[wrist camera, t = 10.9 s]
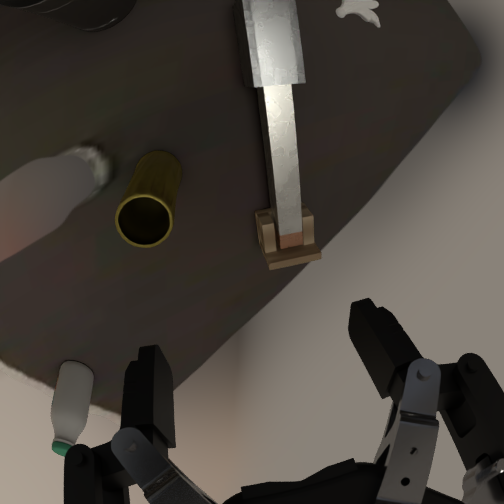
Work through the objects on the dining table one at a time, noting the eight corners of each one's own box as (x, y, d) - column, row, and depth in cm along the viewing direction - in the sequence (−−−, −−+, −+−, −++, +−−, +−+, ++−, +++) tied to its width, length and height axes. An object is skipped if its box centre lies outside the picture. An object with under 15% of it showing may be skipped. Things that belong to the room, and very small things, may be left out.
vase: (191, 165, 37) (191, 210, 26) (167, 203, 40) (157, 263, 28) (150, 141, 35) (128, 176, 23) (127, 182, 37) (99, 234, 25)
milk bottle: (64, 354, 51) (45, 440, 34) (98, 368, 54) (86, 455, 37) (58, 372, 53) (42, 451, 37) (89, 385, 57) (79, 464, 40)
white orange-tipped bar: (254, 72, 31) (261, 71, 28) (279, 70, 31) (289, 69, 28) (273, 234, 43) (280, 249, 40) (294, 230, 43) (303, 244, 40)
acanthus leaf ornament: (329, -25, 26) (335, -29, 25) (373, -17, 27) (380, -19, 26) (333, 21, 30) (340, 19, 29) (377, 28, 31) (385, 27, 29)
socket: (254, 210, 42) (265, 235, 37) (302, 202, 43) (321, 224, 37) (258, 242, 45) (269, 270, 39) (304, 233, 46) (321, 258, 40)
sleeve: (232, 6, 27) (240, -8, 22) (276, 3, 28) (293, -10, 22) (244, 86, 33) (254, 87, 28) (286, 81, 34) (305, 82, 28)
